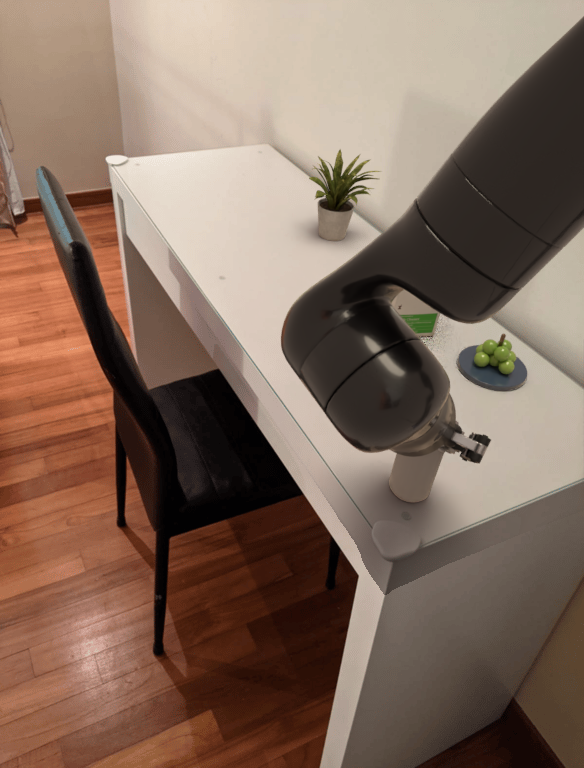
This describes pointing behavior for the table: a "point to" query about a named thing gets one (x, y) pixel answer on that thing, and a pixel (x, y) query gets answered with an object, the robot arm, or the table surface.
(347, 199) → the house plant
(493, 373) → the grapes
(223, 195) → the table surface
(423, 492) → the beverage can
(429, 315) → the cosmetic box
